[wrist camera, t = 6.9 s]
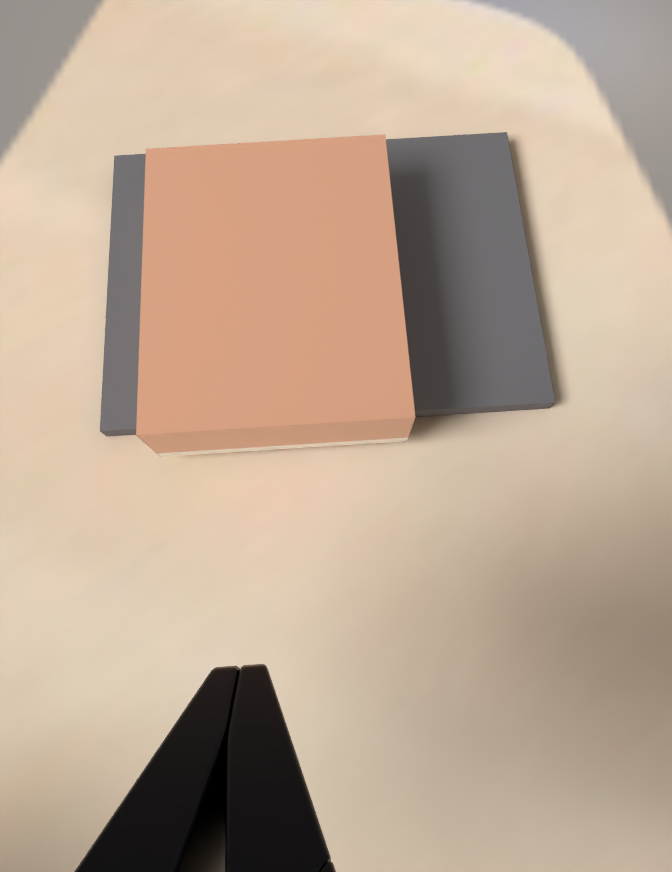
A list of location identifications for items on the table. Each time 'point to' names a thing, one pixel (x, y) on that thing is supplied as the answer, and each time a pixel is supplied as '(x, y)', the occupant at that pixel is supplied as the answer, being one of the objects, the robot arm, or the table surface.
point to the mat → (420, 280)
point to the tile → (271, 299)
